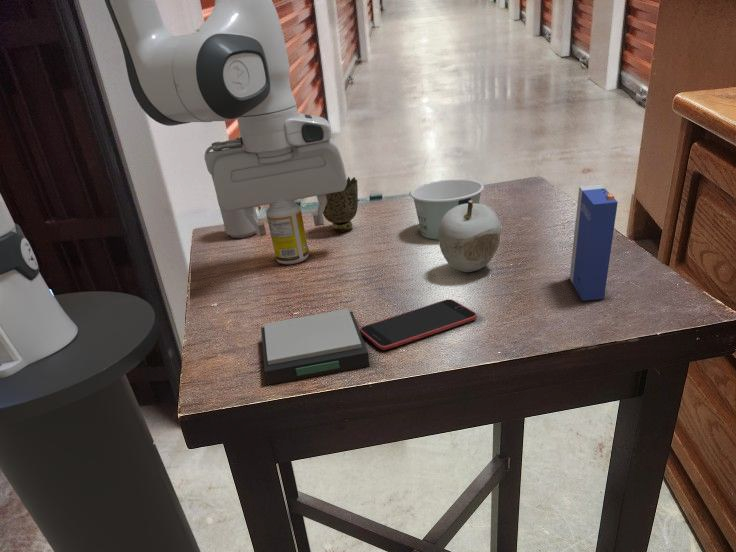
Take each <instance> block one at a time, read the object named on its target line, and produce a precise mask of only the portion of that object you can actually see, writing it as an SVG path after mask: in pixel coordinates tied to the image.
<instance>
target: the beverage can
mask: <svg viewBox="0 0 736 552" xmlns="http://www.w3.org/2000/svg"><path fill="white" fill-rule="evenodd" d="M211 179H212V182H213V186H214V191H215V192H216V189H215V182H214V177H213V176H212V175H211ZM219 211H220V214H221V218H222V222H223V227H224V229H225V233H226V234H227V235H228V236H230V238H234V239H242V238H249V237H251V236H254V235H257V233H256V229H255V226H254V225H253V224H252V223H251V222H250V221H249V220H248V219H247V218H246V216H245V213H244V209H240V210H235V211H229V212H225V211H224V210H223V209H221V208H220V207H219ZM253 211H254V214H253V216H254V217H255V218H256V220H257V221H258V222H259V218H258V212H257V208H256V207H253Z"/></svg>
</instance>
